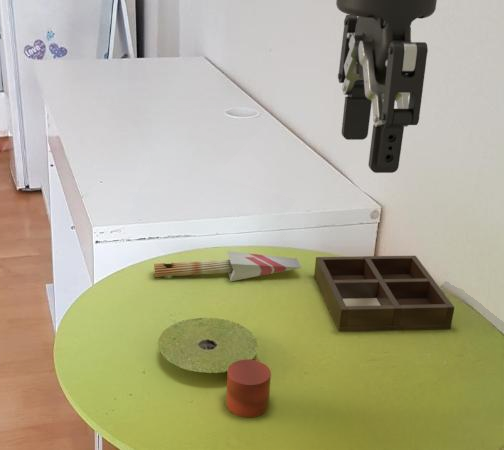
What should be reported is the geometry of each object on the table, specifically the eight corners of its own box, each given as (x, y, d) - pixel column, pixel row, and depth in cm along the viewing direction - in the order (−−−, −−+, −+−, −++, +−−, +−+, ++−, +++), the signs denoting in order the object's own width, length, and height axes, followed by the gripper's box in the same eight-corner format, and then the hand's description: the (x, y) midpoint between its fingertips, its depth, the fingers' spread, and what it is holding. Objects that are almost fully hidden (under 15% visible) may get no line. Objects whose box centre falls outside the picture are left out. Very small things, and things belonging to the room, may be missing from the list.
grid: (412, 275, 105) (415, 255, 104) (450, 329, 92) (454, 307, 91) (313, 276, 104) (315, 256, 103) (338, 331, 91) (341, 309, 90)
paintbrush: (302, 260, 101) (154, 267, 100) (301, 277, 103) (154, 285, 101) (297, 247, 105) (153, 254, 104) (296, 264, 106) (154, 272, 105)
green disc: (163, 328, 91) (163, 314, 90) (256, 332, 90) (257, 318, 90) (152, 383, 81) (152, 368, 80) (257, 389, 80) (258, 374, 79)
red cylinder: (264, 390, 80) (267, 358, 78) (271, 416, 76) (274, 384, 74) (223, 391, 80) (225, 359, 78) (228, 418, 76) (230, 385, 74)
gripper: (479, -43, 50) (442, 184, 57) (409, -58, 63) (385, 129, 70) (370, -45, 50) (345, 185, 56) (321, -60, 63) (305, 128, 69)
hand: (367, 153), depth 63 cm, fingers open, 8 cm apart
